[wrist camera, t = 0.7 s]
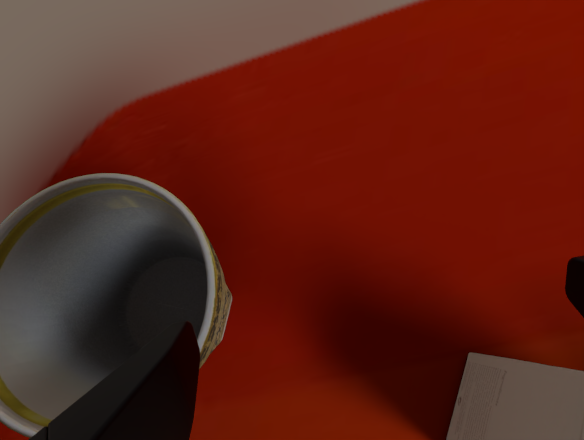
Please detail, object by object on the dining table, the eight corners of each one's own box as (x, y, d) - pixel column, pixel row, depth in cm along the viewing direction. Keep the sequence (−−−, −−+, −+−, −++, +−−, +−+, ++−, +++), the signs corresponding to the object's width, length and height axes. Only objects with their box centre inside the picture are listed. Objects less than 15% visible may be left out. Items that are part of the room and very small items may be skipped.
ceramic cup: (273, 246, 24) (243, 194, 15) (236, 411, 22) (171, 479, 12) (90, 211, 26) (-44, 143, 16) (36, 362, 24) (-160, 387, 14)
